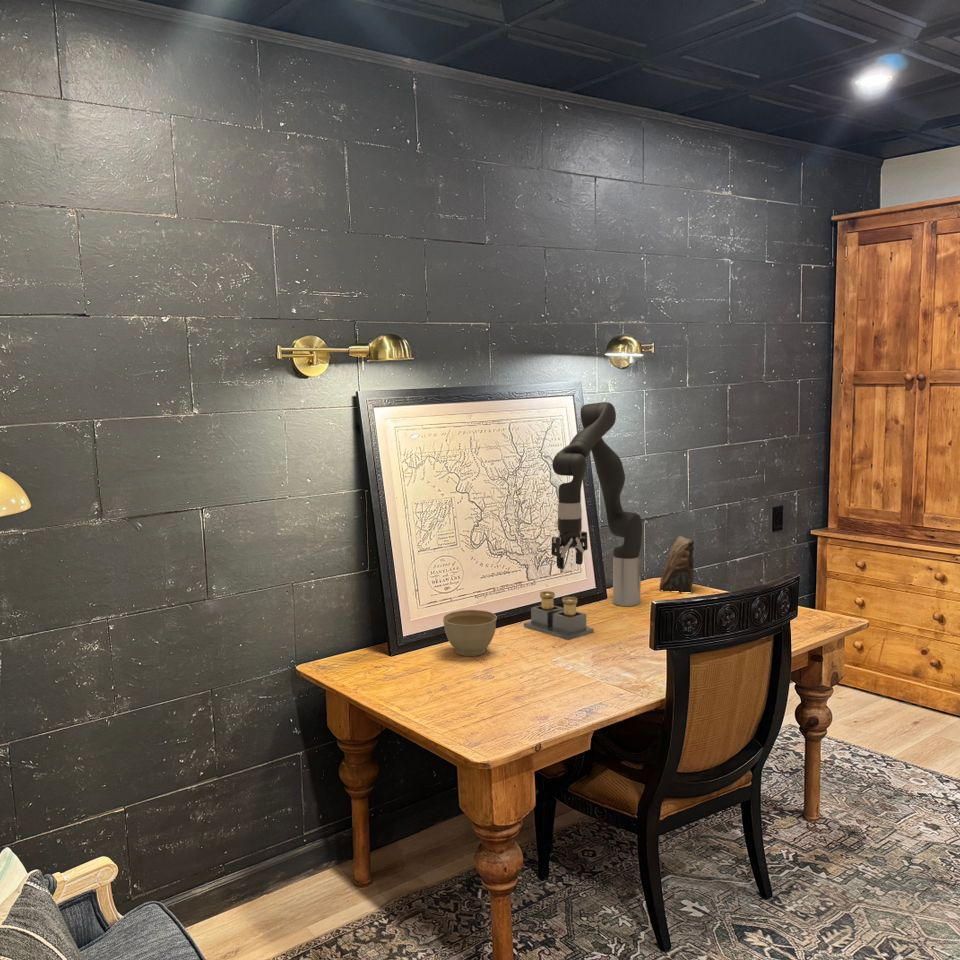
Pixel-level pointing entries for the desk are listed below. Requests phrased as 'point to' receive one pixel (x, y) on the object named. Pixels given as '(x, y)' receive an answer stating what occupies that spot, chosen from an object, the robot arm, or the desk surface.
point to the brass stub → (569, 606)
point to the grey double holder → (556, 619)
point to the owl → (679, 567)
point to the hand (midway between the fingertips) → (569, 566)
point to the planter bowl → (470, 631)
